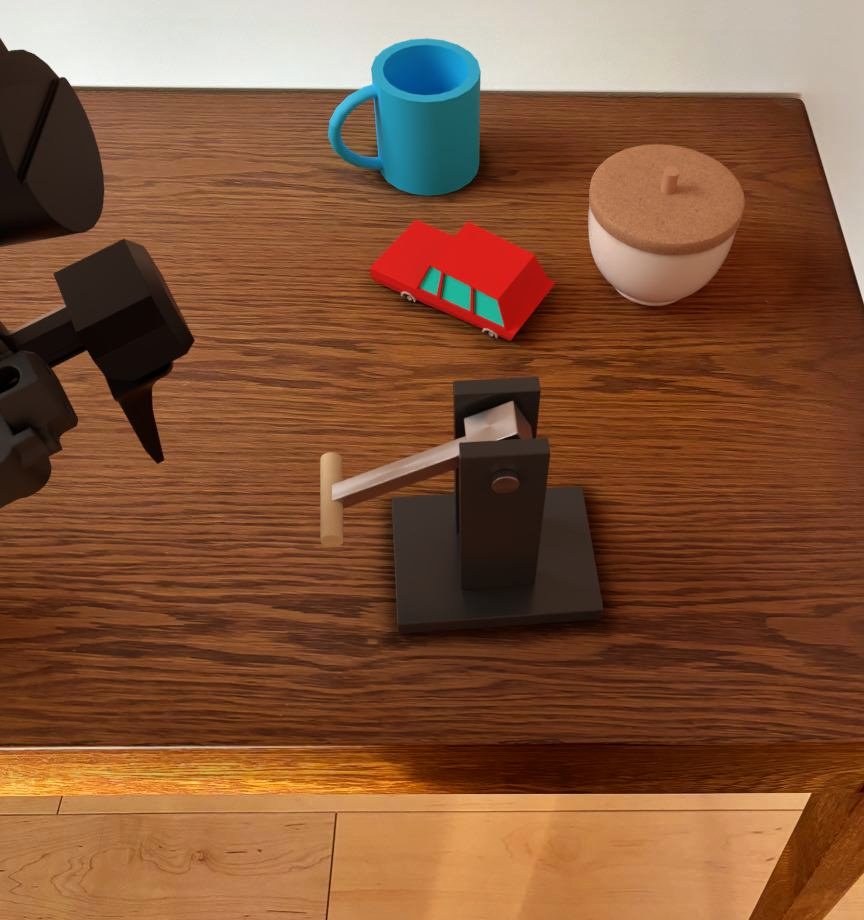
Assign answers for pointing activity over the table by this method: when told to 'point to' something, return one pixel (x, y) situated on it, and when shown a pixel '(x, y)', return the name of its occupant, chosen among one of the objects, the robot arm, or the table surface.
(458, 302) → the toy car
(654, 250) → the trinket box
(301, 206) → the table surface
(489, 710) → the table surface
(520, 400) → the bracket
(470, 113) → the mug
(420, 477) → the lever
